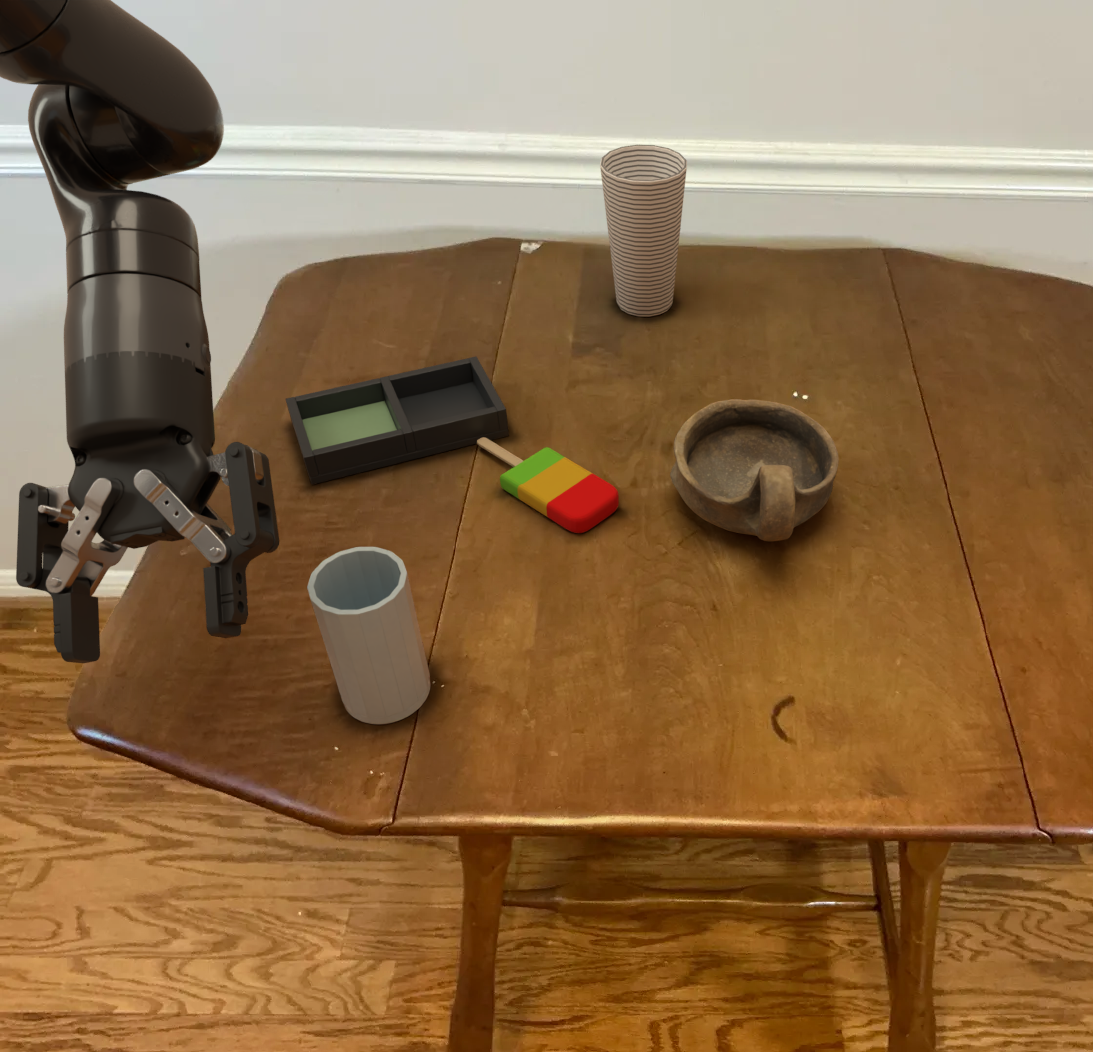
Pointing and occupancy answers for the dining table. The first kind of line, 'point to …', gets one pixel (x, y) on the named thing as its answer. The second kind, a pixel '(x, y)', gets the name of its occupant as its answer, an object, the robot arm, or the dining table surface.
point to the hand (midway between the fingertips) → (152, 649)
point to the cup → (644, 224)
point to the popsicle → (557, 487)
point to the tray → (396, 419)
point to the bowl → (754, 467)
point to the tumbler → (371, 633)
